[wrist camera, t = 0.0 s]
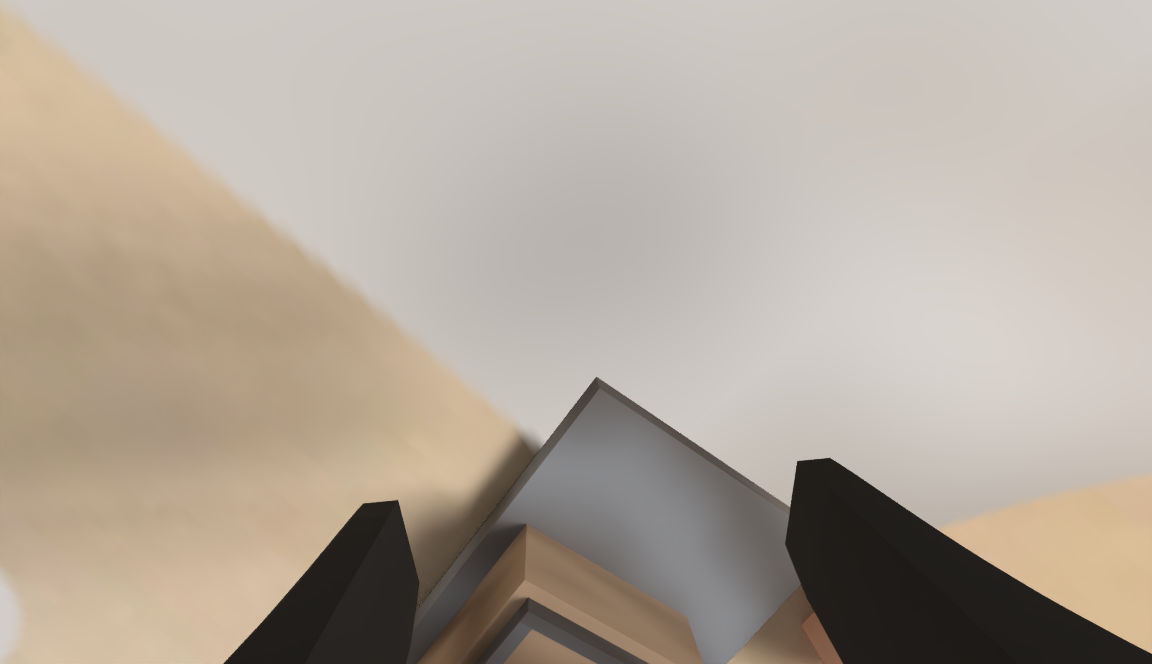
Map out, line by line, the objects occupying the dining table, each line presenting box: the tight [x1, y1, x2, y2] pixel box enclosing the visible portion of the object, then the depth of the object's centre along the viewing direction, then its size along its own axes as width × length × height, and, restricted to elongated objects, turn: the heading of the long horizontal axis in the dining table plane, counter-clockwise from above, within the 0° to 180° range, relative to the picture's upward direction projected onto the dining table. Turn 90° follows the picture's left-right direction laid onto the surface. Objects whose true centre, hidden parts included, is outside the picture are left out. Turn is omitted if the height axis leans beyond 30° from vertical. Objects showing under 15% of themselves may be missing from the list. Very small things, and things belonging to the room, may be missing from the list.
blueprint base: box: [406, 377, 801, 664], centre depth 21 cm, size 16×12×5 cm
